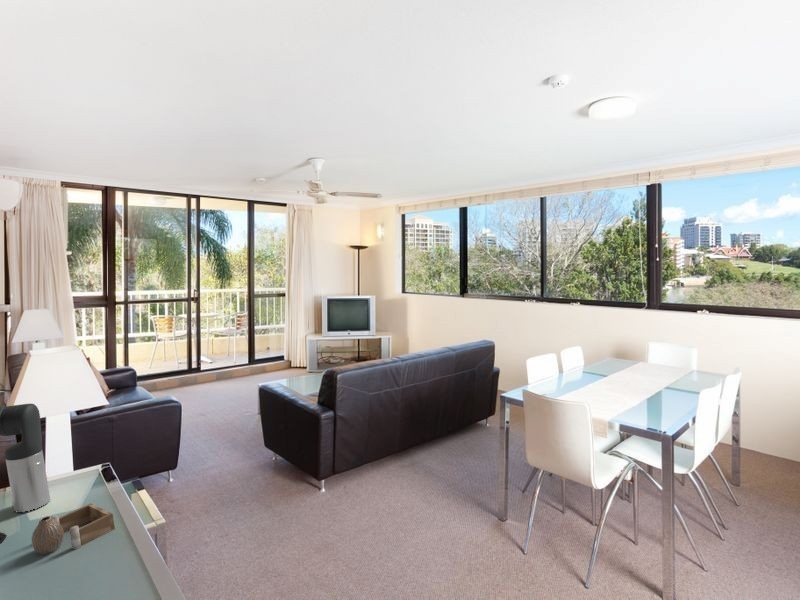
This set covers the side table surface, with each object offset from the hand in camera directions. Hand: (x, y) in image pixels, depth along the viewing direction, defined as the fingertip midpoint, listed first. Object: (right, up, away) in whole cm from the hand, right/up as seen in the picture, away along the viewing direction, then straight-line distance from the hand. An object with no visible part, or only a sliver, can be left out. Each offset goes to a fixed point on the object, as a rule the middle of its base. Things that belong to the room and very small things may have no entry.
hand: (3, 538), depth 117 cm
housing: (+10, -6, +16) cm, 20 cm away
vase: (+5, -7, +9) cm, 13 cm away
